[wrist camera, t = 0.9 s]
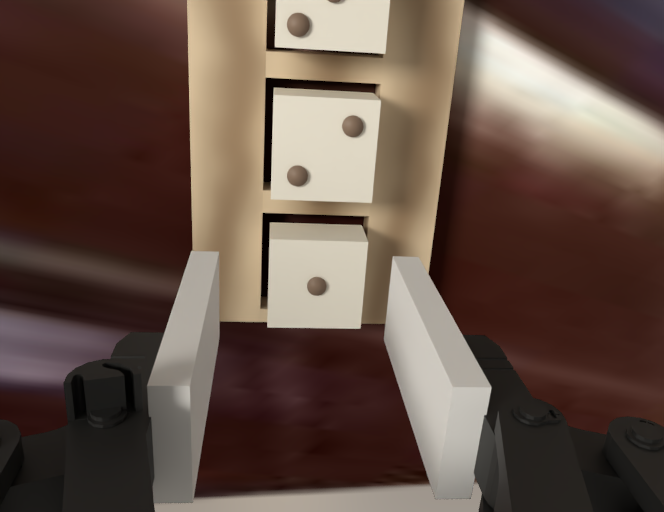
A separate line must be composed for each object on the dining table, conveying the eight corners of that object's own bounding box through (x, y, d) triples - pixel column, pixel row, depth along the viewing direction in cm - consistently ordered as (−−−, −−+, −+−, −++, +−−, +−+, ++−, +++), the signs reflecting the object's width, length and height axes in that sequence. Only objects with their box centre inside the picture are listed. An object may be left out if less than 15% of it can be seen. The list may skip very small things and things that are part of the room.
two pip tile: (270, 184, 40) (270, 200, 37) (273, 87, 37) (273, 95, 34) (364, 188, 40) (372, 203, 37) (372, 92, 38) (381, 101, 35)
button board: (197, 307, 45) (194, 320, 43) (189, -105, 35) (184, -111, 33) (416, 311, 47) (421, 324, 45) (465, -82, 37) (475, -87, 35)
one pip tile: (267, 305, 43) (267, 328, 40) (269, 222, 41) (269, 240, 37) (354, 306, 43) (360, 330, 40) (361, 225, 41) (368, 243, 38)
